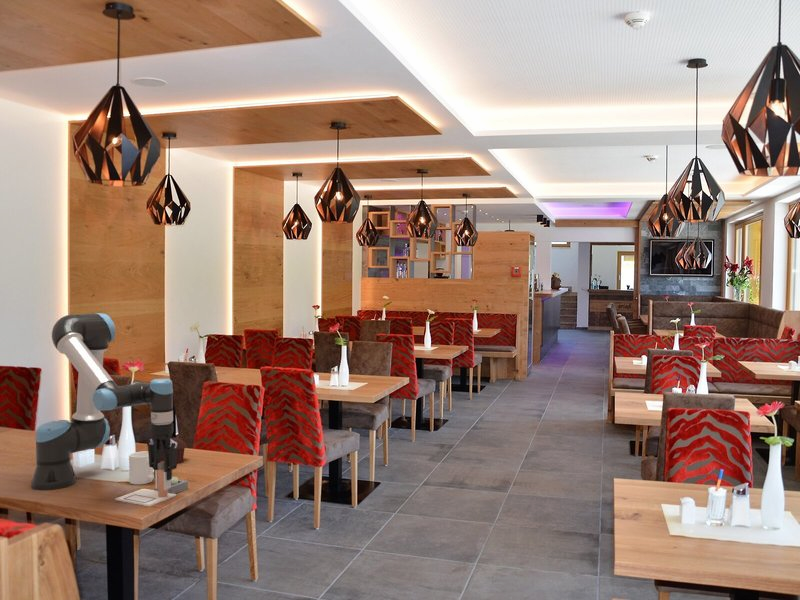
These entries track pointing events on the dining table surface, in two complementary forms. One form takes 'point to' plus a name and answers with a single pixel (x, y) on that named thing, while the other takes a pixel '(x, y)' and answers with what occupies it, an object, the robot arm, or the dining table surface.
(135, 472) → the mug
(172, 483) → the button
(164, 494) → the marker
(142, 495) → the sheet
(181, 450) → the muffin
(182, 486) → the button housing
